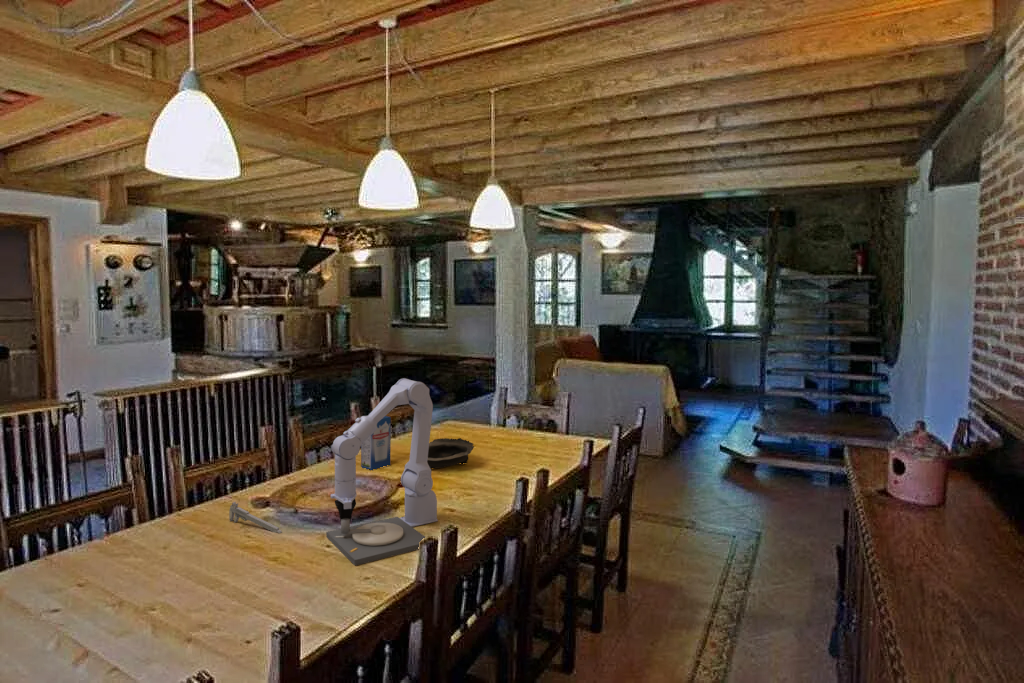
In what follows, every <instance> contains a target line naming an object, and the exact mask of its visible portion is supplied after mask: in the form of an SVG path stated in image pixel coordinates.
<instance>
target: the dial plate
mask: <svg viewBox="0 0 1024 683" xmlns="http://www.w3.org/2000/svg"><path fill="white" fill-rule="evenodd" d="M400 518H401V517H399V516H394V517H390V518H389V517H388V518H386V519H385V518H384V519H379V520H375V521H369V522H366V523H365V522H364V523H361V524H357V525H352V526H351V525H350V529H356V528H358V527H360V526H363V525H366V524H371V523H393V524H396V525H399V526H401V527H402V528H403V536H402V538H401V539H399V540H398V541H396V542H393V543H390V544H386V545H377V546H370V545H362V544H359V543H357V542H355V541H354V540H353V538H352V534H342V533H341V528H338V529H334V530H329V531H326V532H325V533H326V535H325V536H326V538H327V540H328V541H330V542H331V543H332V545H334V546H335V547H336V548H337V549H338V550H339V551H340V552H341V554H343V555H344V557H346V558H347V559H348V560H349V561H350V562H351V563H352V565H353V566H356V567H357V566H359V565H363V564H366V563H367V564H368V563H371V562H375V561H379V560H382V559H386V558H391V557H394V556H398V555H403V554H406V553H409V552H414V551H418V547H419V542H420V541H421V540H422V539H423V538H425V537H426V536H425V535H424V534H422V533H421V532H420V531H418V530H417V529H415V527H411V526H410V525H408V524H407V523H406V522H404V521H403V520H401V519H400Z"/></svg>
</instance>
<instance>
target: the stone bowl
mask: <svg viewBox="0 0 1024 683" xmlns="http://www.w3.org/2000/svg"><path fill="white" fill-rule="evenodd" d="M474 448H475V444H474V443H473V442H470V440H467V439H463V438H461V437H459V438H447V437H444V438H443V437H442V438H436V439H433V440H432V441H429V450H428V460H427V463H428V465H429V467H430V469H431V468H435V469H441V468H446V467H450V466H454V465H455V466H456V465H458V464H459V463H461V464H463V463H467V464H468V460H469V455H471V453H472V451H473V450H474ZM461 464H459V465H461Z"/></svg>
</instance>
